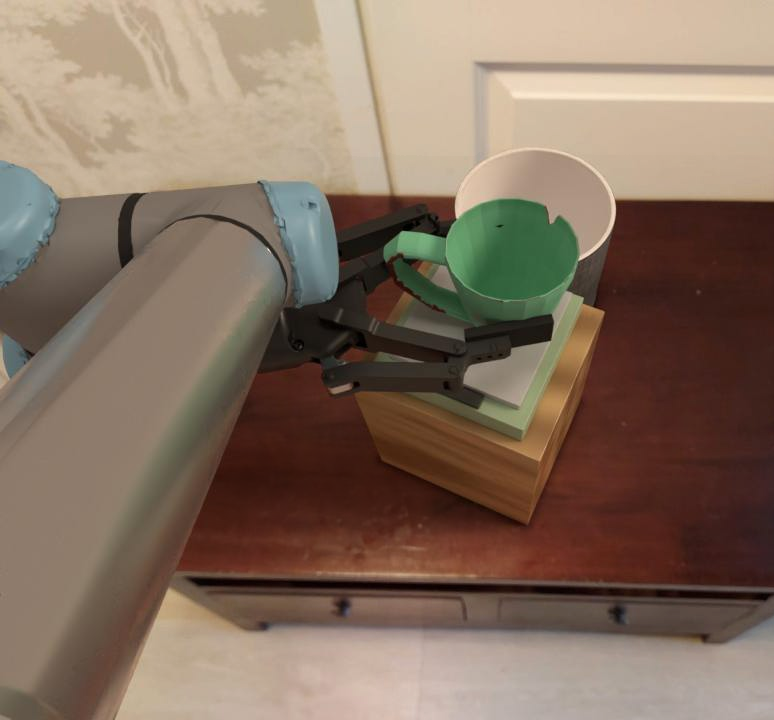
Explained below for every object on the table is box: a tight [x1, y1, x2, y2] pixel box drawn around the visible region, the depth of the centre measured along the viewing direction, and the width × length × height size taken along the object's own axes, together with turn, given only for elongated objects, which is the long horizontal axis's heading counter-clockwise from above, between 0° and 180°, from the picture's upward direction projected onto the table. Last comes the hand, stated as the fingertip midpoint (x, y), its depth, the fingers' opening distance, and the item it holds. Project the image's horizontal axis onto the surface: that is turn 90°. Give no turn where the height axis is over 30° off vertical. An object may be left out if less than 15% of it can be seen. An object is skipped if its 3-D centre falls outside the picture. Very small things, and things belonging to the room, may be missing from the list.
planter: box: [454, 146, 617, 308], centre depth 79 cm, size 18×18×16 cm
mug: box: [384, 198, 580, 327], centre depth 52 cm, size 15×10×10 cm
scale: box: [374, 263, 584, 441], centre depth 57 cm, size 14×14×3 cm
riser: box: [353, 261, 606, 526], centre depth 67 cm, size 16×18×20 cm
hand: (536, 276), depth 51 cm, fingers closed on mug, 9 cm apart
